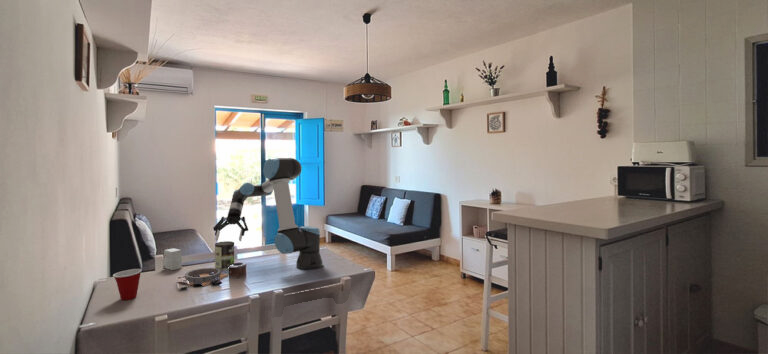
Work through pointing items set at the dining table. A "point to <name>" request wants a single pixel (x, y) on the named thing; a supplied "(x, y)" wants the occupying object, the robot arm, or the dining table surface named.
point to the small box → (173, 259)
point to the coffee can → (224, 255)
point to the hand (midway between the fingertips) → (228, 240)
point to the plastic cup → (128, 283)
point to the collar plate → (204, 275)
